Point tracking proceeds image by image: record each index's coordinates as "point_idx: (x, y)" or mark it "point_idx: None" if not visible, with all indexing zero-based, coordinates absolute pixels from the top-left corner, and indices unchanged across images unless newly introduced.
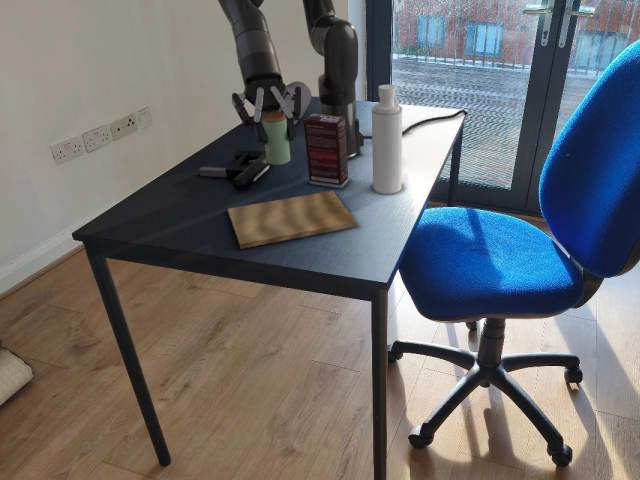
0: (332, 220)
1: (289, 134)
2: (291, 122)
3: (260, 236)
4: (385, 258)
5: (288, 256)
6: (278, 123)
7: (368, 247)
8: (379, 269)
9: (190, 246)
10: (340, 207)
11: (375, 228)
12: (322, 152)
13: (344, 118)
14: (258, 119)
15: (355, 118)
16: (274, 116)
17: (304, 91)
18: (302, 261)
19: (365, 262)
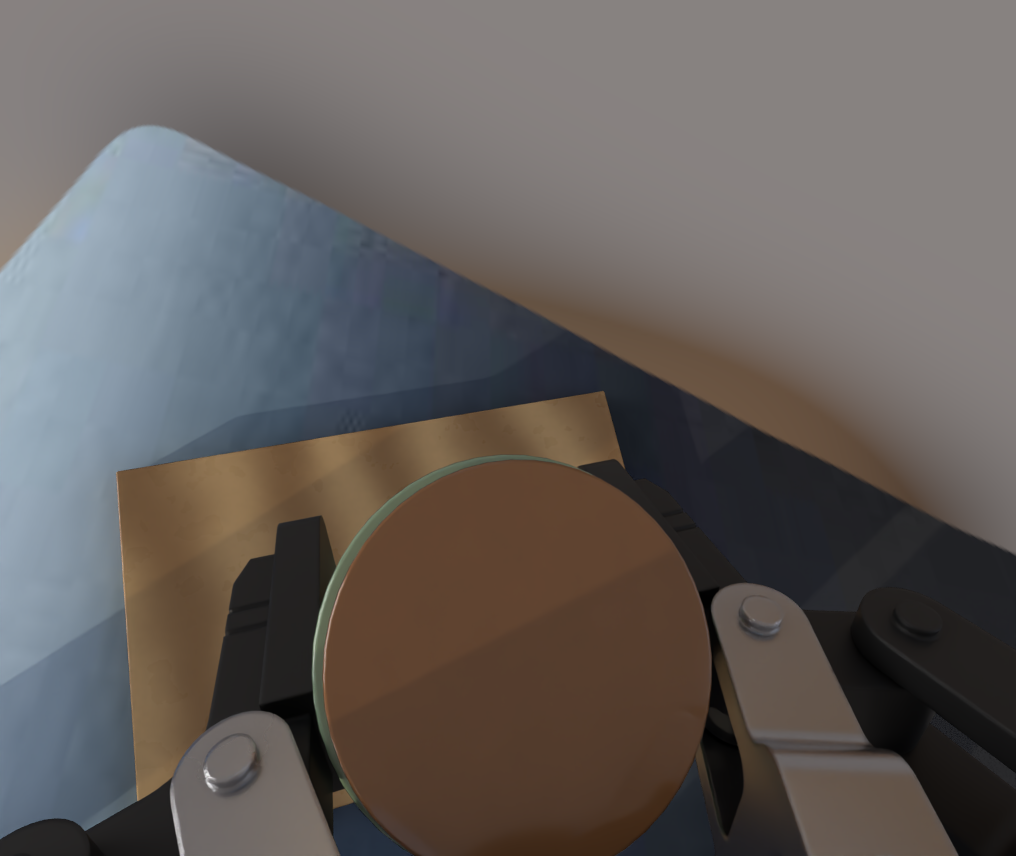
0: (223, 504)
1: (326, 558)
2: (249, 688)
3: (534, 426)
4: (82, 226)
5: (434, 318)
6: (448, 469)
7: (123, 309)
8: (129, 172)
9: (761, 450)
10: (151, 632)
11: (39, 447)
12: None
13: None
14: (737, 619)
15: None
16: (509, 595)
17: None
18: (389, 278)
19: (167, 221)
